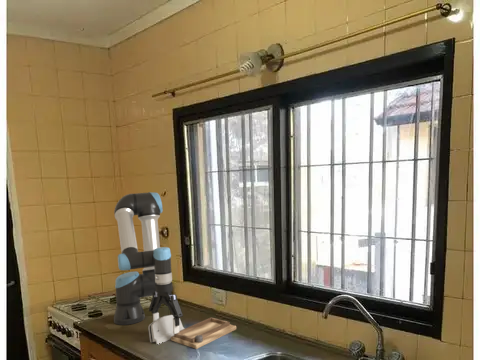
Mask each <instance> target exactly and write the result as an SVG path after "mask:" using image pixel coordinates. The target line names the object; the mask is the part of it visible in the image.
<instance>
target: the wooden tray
mask: <svg viewBox="0 0 480 360" xmlns="http://www.w3.org/2000/svg"><path fill="white" fill-rule="evenodd" d="M184 328H185V329H183V330H180V331H179V333H176V334H174V336H172V337H171V339H170V340H171V341H173V342H175V343H178V344H181V345H184V346H186V347H190V348H193V349H196V350H198V349H199V348H201V347H204V346H205V345H208V344H210V343H212V342H214V341H216V340H217V339H219V338H221V337H224V336H225V335H228V334H230V333H233V332H234V331H236V330H237V326H236V325H233V324H231V323H230V321H227V320H223V319H219V318H216V317H215V318H214V317H212V316H211V317H209V318H205V319H204V320H202V321H199V322H197V323H194V324H192V325H189V326H188V327H184Z"/></svg>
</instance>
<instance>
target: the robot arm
mask: <svg viewBox="0 0 480 360" xmlns="http://www.w3.org/2000/svg"><path fill="white" fill-rule="evenodd" d="M163 211H164V210H163V202H162V198H161V196H160V194H159V193H158V192H151V191H149V192H136V193H128V194H125V195H123V196H122V197H121V198H120V199H119V200H118V202H117V203H116V205H115V207H114V211H113V213H114V219H115V220H116V222H117V227H118V228H117V229H118V236H119V243H120V252H121V253H119V254H118V255H117V264H118V265H117V266H118V267H117V268H118V269H119V271H129V272H126V273H125V272H124V273H122V274H120V275H118V276H117V277H116V278H115V286H114V288H115V295H116V297H115V298H116V300H115V301H116V307H115V312H114V316H113V323H114V324H115V325H120V326H125V325H133V324H138V323H140V322H142V321H144V319H145V317H146V316H145V311H144V307H143V306H142V302H141V298H148V297H152V298H151V301H150V305H149V308H148V311H149V312H151V315H152V322H154V321H155V320H157V319H159V318H160V313H159V309H160V308H161V306H162V305H166V307H168V308H167V309H168V310H169V311H170V314H171V315H173V317H174V318H173V334H176V333H179V325H180V323H179V318H180V319H181V318H182V317H183V316H184V315H183V313H182V309H181V307H180V304H179V301H178V296H177V294H176V293H175V294H172V291H174V290H173V282H172V281H173V273H172V253H171V249H170V247H168V246H162V247H161V242H160V241H161V240H160V232H159V231H160V230H159V222H158V220H159V218H160V217H161V214H162V213H163ZM134 216H137V219H138V220H139V221H140V222H141V223H140V224H141V233H142V245H143V251H139V248H138V243H137V237H136V236H137V235H136V231H135V225H134ZM138 269H142V273H141V274H140V273H139V272H138V271H130V270H138Z"/></svg>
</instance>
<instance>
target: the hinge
mask: <svg viewBox="0 0 480 360" xmlns="http://www.w3.org/2000/svg"><path fill="white" fill-rule="evenodd" d="M173 318H174V317H173V315H172V314H169V315H164V316H162V317H159V319H157V320H155V321H154V322H153V321H152V322H151V323H149V325H148V329H147V330H148V336H149V343H155V344H156V345H157V344H158V345H160V344H163V343H164V342H165V343H166V342H167V341H170V340H171V337H172V336H174V334H173ZM179 323H180V325H179V331H180V330H183V329H185V328H186V327H184V326H183V323H182V321H181V317H180V318H179ZM162 342H163V343H162ZM159 343H160V344H159Z"/></svg>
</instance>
